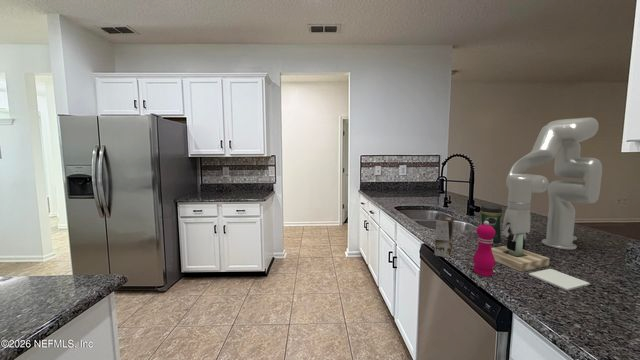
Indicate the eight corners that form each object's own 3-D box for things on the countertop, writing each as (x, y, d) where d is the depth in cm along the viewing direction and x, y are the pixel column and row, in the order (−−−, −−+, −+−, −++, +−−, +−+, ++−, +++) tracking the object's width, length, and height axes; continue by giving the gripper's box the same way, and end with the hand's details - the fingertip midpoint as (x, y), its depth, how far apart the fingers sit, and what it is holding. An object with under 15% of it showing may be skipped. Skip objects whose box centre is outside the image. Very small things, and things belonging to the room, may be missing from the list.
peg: (513, 255, 115) (515, 231, 114) (524, 259, 111) (526, 234, 110) (505, 257, 114) (507, 232, 112) (516, 261, 110) (518, 235, 108)
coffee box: (450, 258, 115) (452, 221, 113) (434, 255, 118) (435, 219, 117) (452, 251, 123) (454, 217, 121) (437, 248, 126) (438, 215, 124)
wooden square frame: (509, 251, 122) (509, 245, 122) (548, 265, 107) (549, 258, 107) (482, 255, 117) (483, 249, 117) (520, 271, 102) (520, 263, 102)
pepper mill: (468, 268, 105) (470, 218, 103) (485, 267, 105) (488, 218, 103) (480, 277, 98) (483, 223, 96) (499, 276, 98) (502, 223, 96)
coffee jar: (500, 239, 139) (502, 204, 137) (501, 243, 132) (503, 206, 130) (478, 236, 144) (480, 202, 142) (478, 240, 138) (480, 204, 135)
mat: (550, 270, 103) (550, 268, 103) (589, 284, 92) (590, 283, 92) (528, 274, 99) (528, 273, 99) (566, 290, 88) (567, 289, 88)
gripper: (523, 202, 116) (520, 243, 118) (494, 205, 111) (492, 248, 113) (542, 206, 109) (539, 249, 111) (512, 209, 104) (509, 255, 106)
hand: (515, 248), depth 112 cm, fingers closed on peg, 4 cm apart
